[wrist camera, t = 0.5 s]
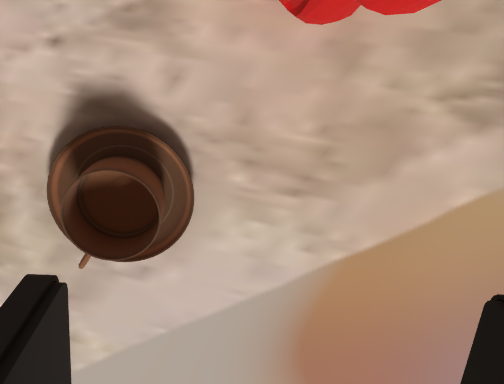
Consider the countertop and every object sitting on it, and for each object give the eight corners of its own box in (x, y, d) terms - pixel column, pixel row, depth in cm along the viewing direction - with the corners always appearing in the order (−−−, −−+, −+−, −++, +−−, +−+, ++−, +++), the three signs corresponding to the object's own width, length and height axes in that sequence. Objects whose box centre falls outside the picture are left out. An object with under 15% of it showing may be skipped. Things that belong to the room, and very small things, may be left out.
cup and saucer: (181, 262, 42) (176, 298, 36) (48, 239, 40) (20, 273, 34) (207, 139, 38) (206, 157, 33) (62, 107, 37) (34, 120, 31)
